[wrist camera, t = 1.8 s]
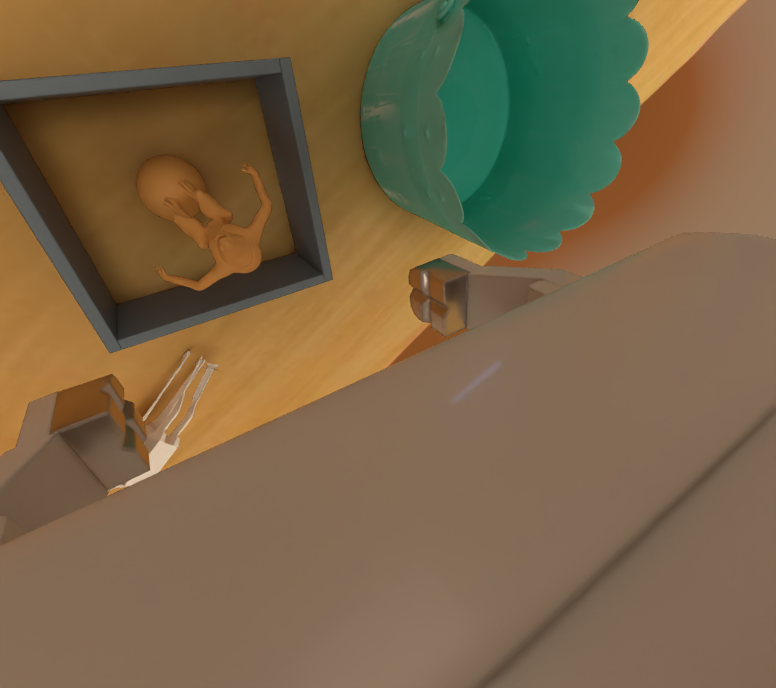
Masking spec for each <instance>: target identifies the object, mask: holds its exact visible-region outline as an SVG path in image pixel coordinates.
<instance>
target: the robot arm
mask: <svg viewBox="0 0 776 688" xmlns="http://www.w3.org/2000/svg"><path fill="white" fill-rule="evenodd" d="M409 284H410V285H411V286H412V287H413V290H412V293H411V295H410V302H411V307H412V310H413V312H414V314H415V315H416V317H417V318H418V319H419V320H421V321H422V322H427V323H431V328H433V329H434V330H435V331H437V332H438V333H440V334H441V335H443V336H444V337H445V336H448V335H450V334H453V333H455V332H458V331H460V330H462V329H464V328H467V329H470V330H468V331H466V332H464V333H462V334H459V335H457V336H455V337H453V338H451V339H449V340H446V341H444V342H442V343H440V344H438V345H435V346H433V347H431V348H429V349H427V350H425V351H423V352H420V353H418V354H416V355H414V356H412V357H409V358H407V359H405V360H403V361H401V362H398V363H396V364H394V365H392V366H390V367H388V368H385V369H383V370H381V371H379V372H377V373H374V374H372V375H370V376H368V377H366V378H364V379H361V380H359V381H357V382H355V383H353V384H351V385H348V386H346V387H344V388H342V389H340V390H337V391H335V392H333V393H331V394H329V395H327V396H324V397H322V398H320V399H318V400H316V401H313V402H311V403H309V404H307V405H305V406H303V407H300V408H298V409H296V410H294V411H292V412H289V413H287V414H285V415H283V416H281V417H279V418H276V419H274V420H272V421H270V422H268V423H266V424H263V425H261V426H259V427H257V428H255V429H252V430H250V431H248V432H246V433H244V434H242V435H239V436H237V437H235V438H233V439H231V440H228V441H226V442H224V443H222V444H220V445H218V446H215V447H213V448H211V449H209V450H207V451H205V452H202V453H200V454H198V455H196V456H194V457H191V458H189V459H187V460H185V461H183V462H181V463H178V464H176V465H174V466H172V467H170V468H167V469H165V470H163V471H161V472H159V473H157V474H154V475H152V476H150V477H148V478H146V479H144V480H141V481H139V482H137V483H135V484H133V485H131V486H128V487H126V488H124V489H122V490H120V491H117V492H115V493H113V494H111V495H109V496H107V494H108V493H109V492H108V490H110V489H112V488H115V487H117V486H119V485H121V484H123V483H125V482H127V481H129V480H131V479H133V478H135V477H137V476H140V475H142V474H144V473H146V472H148V471H150V462H149V451H148V449H147V448H146V446H145V445H144V442H145V441H146V439H147V433H146V428H145V425H144V422H143V419H142V417H141V415H140V413H139V411H138V410H137V408H136V406H135V405H134V403H132V402H130V401H127V400H124V388H123V387H122V385H121V384H120V382H119V381H118V379H117V378H116V377H115V376H114V375H112V374H110V375H107V376H104V377H101V378H98V379H95V380H92V381H89V382H86V383H83V384H80V385H77V386H74V387H71V388H68V389H65V390H62V391H60V392H58V391H57V392H55V393H52V394H50V395H47V396H44V397H42V398H39V399H36V400H34V401H31V402H29V404H28V407H27V410H26V414H25V417H24V420H23V424H22V427H21V430H20V434H19V437H18V440H17V444H16V447H15V448H14V449H12V450H9V451H7V452H5V453H4V454H3V455H2V456H1V457H0V688H776V239H773V238H768V237H764V236H757V235H751V234H738V233H720V232H719V233H718V232H716V233H715V232H707V233H704V232H698V233H697V232H695V233H682V234H678V235H675V236H673V237H670V238H668V239H666V240H664V241H662V242H660V243H658V244H655V245H653V246H651V247H649V248H647V249H645V250H642V251H640V252H638V253H636V254H634V255H632V256H630V257H627V258H625V259H623V260H621V261H618V262H616V263H614V264H612V265H610V266H607V267H605V268H603V269H601V270H599V271H597V272H595V273H592V274H591V275H588V276H586V277H582V276H579V275H576V274H573V273H571V272H568V271H565V270H559V269H538V268H537V269H536V268H517V267H496V266H488V267H482V266H480V265H478V264H475V263H473V262H470V261H468V260H466V259H463V258H461V257H458V256H456V255H454V254H449V255H446V256H444V257H441V258H438V259H435V260H433V261H430V262H428V263H425V264H422V265H420V266H417V267H415V268H413V269H411V270H410V272H409ZM106 496H107V497H106Z"/></svg>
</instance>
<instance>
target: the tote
mask: <svg viewBox="0 0 776 688" xmlns="http://www.w3.org/2000/svg"><path fill="white" fill-rule="evenodd" d="M248 79H255V83H256V87H257V91H258V95H259V99H260V103H261V107H262V112H263V116H264V120H265V124H266V128H267V132H268V136H269V141H270V145H271V149H272V153H273V157H274V161H275V165H276V170H277V174H278V178H279V182H280V186H281V190H282V194H283V199H284V203H285V207H286V211H287V215H288V219H289V223H290V228H291V232H292V236H293V240H294V244H295V248H296V252H297V253H293V254H290V255H286V256H283V257H279V258H276V259H273V260H269V261H266V262H262V263H260V265H259V266H258V268H257V269H255V270H254V271H252V272H250V273H232V274H230V275H229V276H227V277H224V278H221V279H219V280H218V281H217V282H215V283H214V284H212V285H211V286H209V287H207V288H206V289H204V290H201V291H197V290H194V289H192V288H189V287H186V286H180V287H176V288H173V289H169V290H166V291H162V292H159V293H156V294H152V295H149V296H145V297H142V298H138V299H135V300H131V301H128V302H125V303H121V304H118V305H116V303H115V301H114V300H113V298H112V296H111V294H110V293H109V291H108V289H107V287H106V286H105V284H104V282H103V280H102V279H101V277H100V275H99V273H98V272H97V270H96V268H95V266H94V265H93V263H92V261H91V259H90V258H89V256H88V254H87V252H86V251H85V249H84V247H83V245H82V244H81V242H80V240H79V238H78V237H77V235H76V233H75V231H74V230H73V228H72V226H71V224H70V223H69V221H68V219H67V217H66V216H65V214H64V212H63V210H62V209H61V207H60V205H59V203H58V202H57V200H56V198H55V196H54V195H53V193H52V191H51V189H50V188H49V186H48V184H47V182H46V181H45V179H44V177H43V175H42V174H41V172H40V170H39V168H38V167H37V165H36V163H35V161H34V160H33V158H32V156H31V154H30V153H29V151H28V149H27V147H26V146H25V144H24V142H23V140H22V139H21V137H20V135H19V133H18V132H17V130H16V128H15V126H14V125H13V123H12V121H11V119H10V118H9V116H8V114H7V112H6V111H5V109H4V107H3V105H2V104H10V103H19V102H29V101H39V100H49V99H59V98H69V97H79V96H89V95H99V94H109V93H119V92H129V91H138V90H148V89H158V88H168V87H178V86H188V85H198V84H208V83H218V82H228V81H238V80H248ZM0 181H1V183H2V184H3V186H4V188H5V189H6V191H7V192H8V194H9V195H10V197H11V199H12V200H13V202H14V203H15V205H16V206H17V208H18V210H19V211H20V213H21V214H22V216H23V218H24V219H25V221H26V222H27V224H28V225H29V227H30V229H31V230H32V232H33V233H34V235H35V236H36V238H37V240H38V241H39V243H40V244H41V246H42V247H43V249H44V251H45V252H46V254H47V255H48V257H49V258H50V260H51V262H52V263H53V265H54V266H55V268H56V269H57V271H58V273H59V274H60V276H61V277H62V279H63V280H64V282H65V284H66V285H67V287H68V288H69V290H70V291H71V293H72V295H73V296H74V298H75V299H76V301H77V302H78V304H79V306H80V307H81V309H82V310H83V312H84V313H85V315H86V317H87V318H88V320H89V321H90V323H91V324H92V326H93V328H94V329H95V331H96V332H97V334H98V335H99V337H100V339H101V340H102V342H103V343H104V345H105V346H106V348H107V350H108V351H109V353H113V352H116V351H119V350H121V349H125V348H128V347H131V346H134V345H137V344H140V343H143V342H146V341H149V340H153V339H156V338H159V337H162V336H165V335H168V334H171V333H174V332H177V331H180V330H183V329H186V328H189V327H192V326H195V325H198V324H201V323H204V322H207V321H210V320H213V319H216V318H219V317H222V316H225V315H228V314H231V313H234V312H237V311H240V310H243V309H246V308H249V307H252V306H255V305H258V304H261V303H264V302H267V301H270V300H273V299H276V298H279V297H282V296H285V295H288V294H291V293H294V292H297V291H300V290H303V289H306V288H309V287H312V286H315V285H318V284H321V283H324V282H327V281H330V280H332V279H333V277H332V272H331V267H330V261H329V256H328V251H327V246H326V240H325V235H324V230H323V225H322V220H321V214H320V209H319V204H318V199H317V194H316V188H315V183H314V178H313V173H312V168H311V162H310V157H309V152H308V147H307V142H306V136H305V131H304V126H303V121H302V116H301V110H300V105H299V100H298V95H297V90H296V84H295V79H294V74H293V69H292V63H291V59H290V58H289V57H286V58H274V59H261V60H249V61H237V62H225V63H212V64H200V65H188V66H176V67H163V68H151V69H139V70H127V71H114V72H102V73H90V74H78V75H65V76H53V77H41V78H29V79H16V80H4V81H0ZM197 282H198V281H197Z"/></svg>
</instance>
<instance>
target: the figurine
mask: <svg viewBox="0 0 776 688" xmlns="http://www.w3.org/2000/svg"><path fill="white" fill-rule="evenodd" d="M242 166H244V167H245V168H246V169H247V170H244V169H242V170H243V171H244V172H246V173H248V174H250V175H252V176H253V182H254V186H255V189H256V191H257V193H258V195H259V199H260V201H261V203H262V207H261V208H260V210H259V211H258V213H257V214H256V216H255V218H254V219H253V221H252V223H251V225H250V226H249V227H247V228H242V227H239V226H237V225H235V224H229V223H230V222H231V221H232V220H233V214H232V213H231V212H230V211H229V210H226V209H225V208H223V207H222V206H221V205H220V204H219V203H218V202H217V201H216V200H215V199H214V198H213V197H211V196H209V195H208V194H206V187H205V183H204V181H203V179H202V177H201V175H200V174H199V172H198V171H197V170H196V169H195V168H194V167H193V166H192V165H191V164H189V163H188V162H186V161H185V160H183V159H181V158H178V157H175V156H170V155H160V156H155V157H152V158H150V159H149V160H147V161H146V162H145V163H144V164H143V165H142V166H141V167H140V169H139V171H138V174H137V178H136V186H137V191H138V194H139V196H140V198H141V200H142V201H143V203H144V204H145V205H146V207H147V208H148V209H149V210H151V211H152V212H153V213H154V214H156V215H158V216H160V217H162V218H164V219H167V220H172V221H174V222H175V223H176V224H177V225H178V226H179V227H180V228H181V229H182V231H183V232H184V233H185V234H186V235H188V236H189V237H191V238H192V239H194V240H195V242H196V243H197V245H198V246H199V248H201V249H208V248H210V252H211V253H212V255H213V257H214V259H215V261H216V265H215V267H214V268H213V269H212V270H211V271H209V272H208V273H207V274H206V275H205V276H203V277H202V278H201V279H200V280H199V281H198V282H197V281H194V280H190V279H186V278H183V277H180V276H168V275H167V274H166V273H165V271H164V270H163V269H162V268H161V267H160V269H161V270H160V269H158V268H157V267H155V268H156V269H157V270H156V272H157V273H158V274H159V276H160V277H161V278H162V279H164V280H166V281H168V282H172V283H174V284H177V285H182V286H186V287H189V288H192V289H194V290H197V291H201V290H204V289H206V288H207V287H209V286H211V285H212V284H214V283H215V282H217V281H218V280H219V279H221V278H224V277H227V276H229V275H230V274H232V273H250V272H252V271H254V270H255V269H257V268H258V266H259V265H260V263H261V259H262V252H261V249H260V245H259V241H260V238H261V235H262V230H263V227H264V225H265V224H266V221H267V219H268V217H269V215H270V212H271V209H272V204H271V201H270V199H269V198H268V196H267V194H266V192H265V189H264V186H263V184H262V182H261V180H260V178H259V175H258V173H257V171H256V170H255V169H254V168H253V167H252V166H249V165H248V164H246V166H245V165H243V164H242ZM200 211H201V212H202V213H203V214H204V215H205V216H206V217H208V218H210V219H211V220H212V221H211V222H209V223H208V224H207V227H206V228H205V227H204V226H203V225H202V223H201V222H200V221H198V220H197V219H194V218H193V217H194V216H196V215H197V214H198V213H199V212H200Z"/></svg>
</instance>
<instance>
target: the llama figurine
mask: <svg viewBox="0 0 776 688" xmlns="http://www.w3.org/2000/svg"><path fill="white" fill-rule="evenodd" d="M190 353H191V352H190V351H187V352H186V353H185V354H184V355H183V360H182V362H181V363H180V365H179V366H178V368H177V369H176V371H175V372H174V374H173V375H172V377H171V378H170V380H169V381H168V382H167V384H166V385H165V387H164V388H163V390H162V391H161V393H160V394H159V396H158V397H157V398H156V400H155V401H154V403H153V404H152V405H151V407H150V408H149V409H148V411H147V412H146V414H145V415H144V416H143V417H142V419H143V422H144V421H145V419H146V418H147V417H148V415H149V414H150V412H151V411H152V409H153V408H154V406H155V405H156V403H157V402H158V400H159V399H160V397H161V396H162V394H163V393H164V391H165V390H166V388H167V387H168V385H169V384H170V383H171V381H172V380H173V378H174V377H175V375H176V374H177V372H178V371H179V370H180V368H181V367H182V365H183V364H184V362H185V361H186V360H187V358H188V356H189V355H190ZM202 359H203V357H202V356H201V357H200V359H199V361H198V362H196V367H195V369H194V370H193V371H192V373H191V374H190V376H189V377H188V378H187V380H186V381H185V382H184V384H183V385H182V387H181V388H180V389H179V391H178V392H177V393H176V395H175V396H174V397H173V399H172V400H171V401H170V403H169V404H168V405H167V406H166V408H165V409H164V410H163V411H162V413H161V414H160V415H159V416H158V418H157V419H156V420H154V421H153V422H150V423H148V424H147V425H145V428H146V433H147V439H146V441H145V442H144V445H145V446H146V448H147V449H148V451H149V462H150V471H148V472H146V473H144V474H142V475H140V476H137V477H135V478H133V479H131V480H129V481H127V482H125V483H123V484H121V485H119V486H117V487H115V488H120V487H128V486H131V485H133V484H135V483H137V482H139V481H141V480H144V479H146V478H148V477H150V476H152V475H154V474H157V473H159V471H160V470H161V469H162V467H163V466H164V465H165V463H166V462H167V461H168V460H169V458H170V457H171V456H172V454H173V453H174V452H175V450H176V449H177V448H178V445H179V441H180V439H179V438H178V436H179V435H180V433H181V432H182V431H183V429H184V428H185V427H186V425H187V424H188V423H189V421H190V420H191V419H192V417H193V415H194V411H195V406H196V403H197V401H198V400H199V399H200V396H201V394H202V392H203V390H204V388H205V386H206V384H207V382H208V380H209V378H210V376H211V374H212V372H213V370H217V369H215V368H216V367H218V365H216V364H210V363H207V368H206V367H203V368H206V369H207V370H206V372H205V374H204V375H203V377H202V379H201V381H200V383H199V385H198V387H197V389H196V391H195V393H194V396H193V398H192V400H193V402H192V404H191V406H190V408H189V410H188V412H187V414H186V416H185V417H184V419H183V420H182V421H181V422H180V423H179V425H178V426H177V427H176V428H175V429H174V430H173V432H172V433H171V434H170V435H169V436H167V437H166V435H167V434H165V430H166V429H167V428H168V426H169V425H170V424H171V422H172V421H173V420H174V419H175V417H176V416H177V415H178V413H179V412H180V410H181V406H182V402H183V399H184V396H185V394H184V393H185V391H186V389H187V388H188V386H189V385H190V383H191V382H192V380H193V379H194V377H195V376H196V374H197V373H198V372H199V370H200V369H201V367H202V366H203V364H204V363H205V362H206V360H205V359H203V360H202ZM217 371H218V370H217ZM115 488H112V489H115ZM110 490H111V489H110ZM110 490H108V491H110Z"/></svg>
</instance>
